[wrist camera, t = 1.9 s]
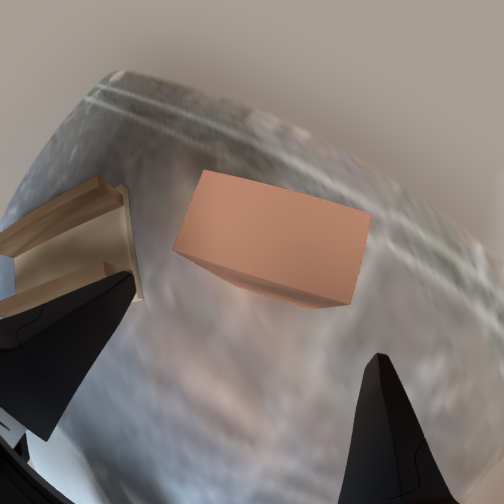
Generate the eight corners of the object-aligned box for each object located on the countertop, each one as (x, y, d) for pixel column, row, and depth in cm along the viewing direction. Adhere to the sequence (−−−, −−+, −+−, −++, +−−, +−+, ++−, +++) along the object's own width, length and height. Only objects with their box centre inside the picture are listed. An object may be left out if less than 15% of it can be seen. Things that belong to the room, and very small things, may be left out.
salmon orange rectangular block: (309, 309, 19) (350, 304, 7) (235, 286, 20) (172, 249, 8) (321, 271, 20) (371, 214, 8) (247, 249, 21) (203, 169, 9)
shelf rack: (143, 299, 21) (107, 294, 16) (26, 329, 21) (-8, 328, 16) (127, 188, 23) (97, 162, 18) (20, 241, 24) (-11, 230, 19)
